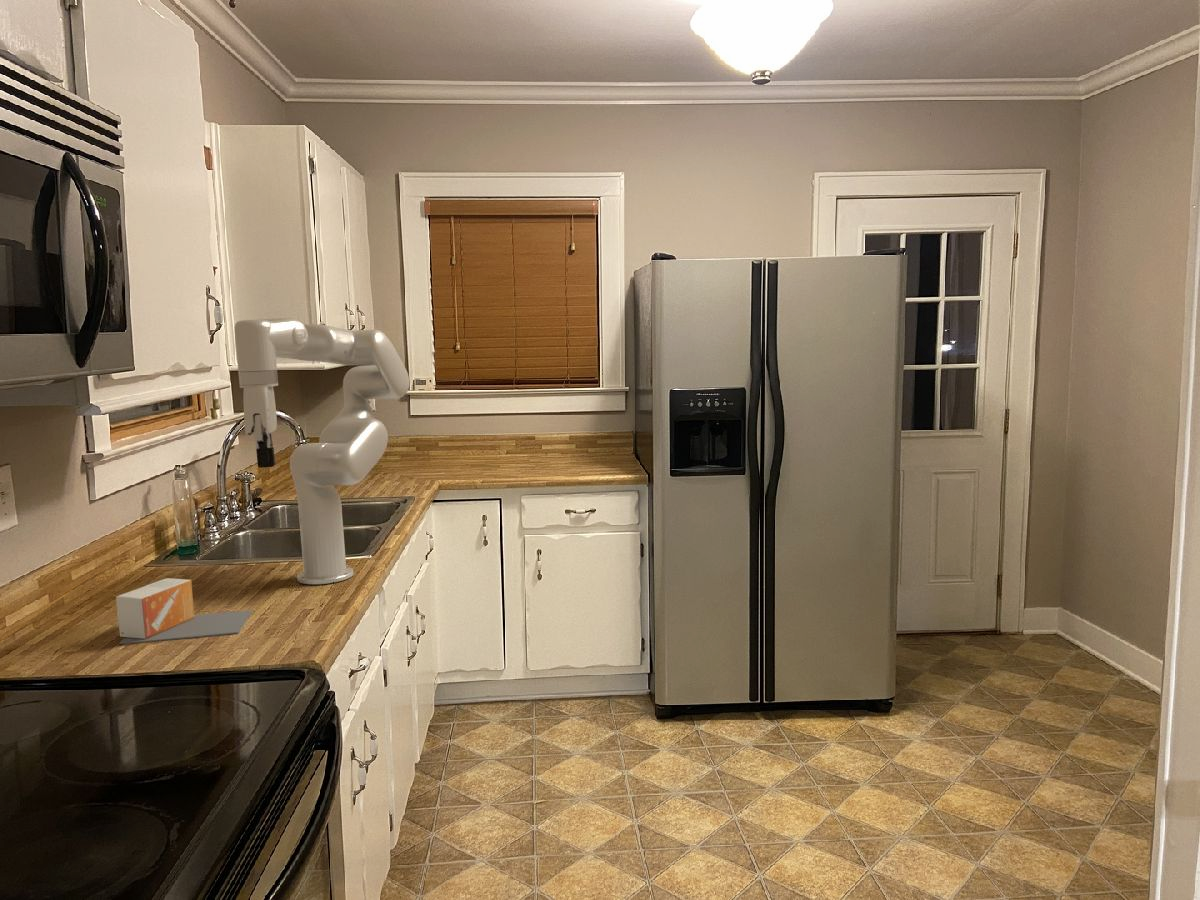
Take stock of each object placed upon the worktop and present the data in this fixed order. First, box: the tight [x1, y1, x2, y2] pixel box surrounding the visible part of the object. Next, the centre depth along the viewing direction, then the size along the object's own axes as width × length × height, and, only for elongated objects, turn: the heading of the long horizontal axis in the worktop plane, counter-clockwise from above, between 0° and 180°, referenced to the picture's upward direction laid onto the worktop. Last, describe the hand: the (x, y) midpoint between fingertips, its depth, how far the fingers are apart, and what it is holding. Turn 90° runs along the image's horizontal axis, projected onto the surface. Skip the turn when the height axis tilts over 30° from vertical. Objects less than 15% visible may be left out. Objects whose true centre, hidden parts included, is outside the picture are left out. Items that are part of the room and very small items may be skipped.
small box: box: [115, 577, 196, 639], centre depth 172 cm, size 8×6×13 cm
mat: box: [118, 609, 253, 645], centre depth 173 cm, size 14×21×1 cm, turn 101°
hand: (266, 466), depth 186 cm, fingers closed
